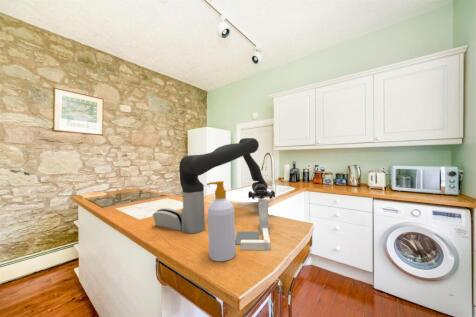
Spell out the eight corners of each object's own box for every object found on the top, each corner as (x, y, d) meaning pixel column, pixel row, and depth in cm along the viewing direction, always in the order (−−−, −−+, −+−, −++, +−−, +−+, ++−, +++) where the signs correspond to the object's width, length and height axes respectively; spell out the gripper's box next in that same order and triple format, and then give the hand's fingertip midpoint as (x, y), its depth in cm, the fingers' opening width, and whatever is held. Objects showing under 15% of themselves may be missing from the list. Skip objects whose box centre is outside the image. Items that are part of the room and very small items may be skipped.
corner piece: (240, 249, 60) (240, 242, 60) (242, 234, 72) (242, 228, 72) (270, 250, 59) (270, 242, 59) (267, 234, 72) (267, 228, 72)
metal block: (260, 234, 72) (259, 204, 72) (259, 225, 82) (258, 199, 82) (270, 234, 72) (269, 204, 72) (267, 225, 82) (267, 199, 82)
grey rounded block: (189, 226, 83) (183, 208, 80) (182, 233, 79) (175, 214, 76) (163, 221, 90) (157, 205, 87) (156, 228, 86) (149, 210, 83)
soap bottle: (201, 256, 57) (199, 182, 57) (224, 245, 64) (221, 179, 64) (218, 266, 51) (215, 184, 51) (241, 253, 57) (238, 180, 58)
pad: (234, 244, 64) (234, 244, 64) (237, 232, 75) (237, 231, 75) (259, 245, 63) (259, 244, 63) (258, 232, 74) (258, 231, 74)
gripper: (248, 185, 107) (247, 190, 91) (272, 184, 106) (276, 189, 89) (249, 197, 107) (248, 204, 91) (273, 196, 106) (276, 204, 89)
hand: (262, 197), depth 90 cm, fingers open, 8 cm apart
